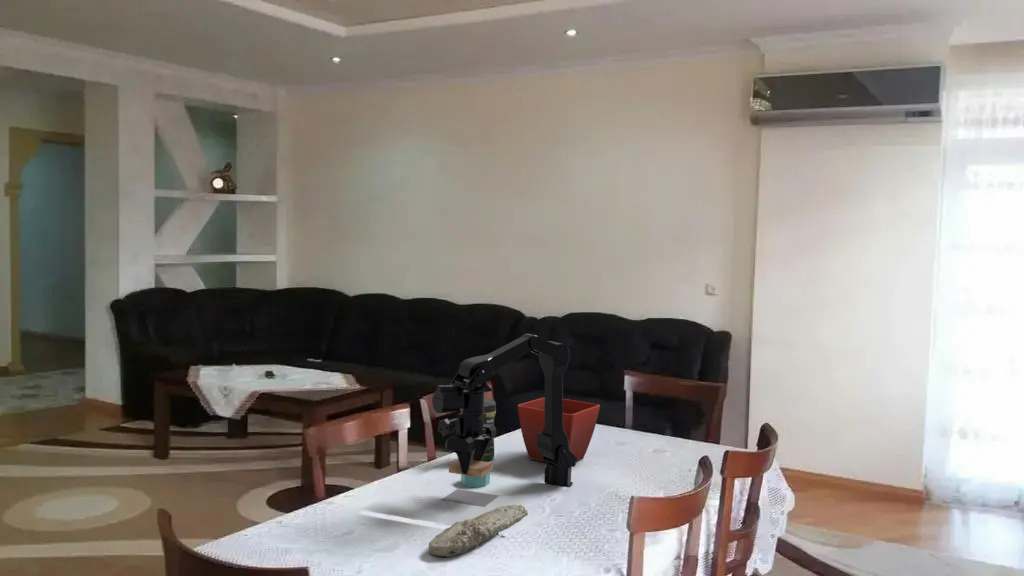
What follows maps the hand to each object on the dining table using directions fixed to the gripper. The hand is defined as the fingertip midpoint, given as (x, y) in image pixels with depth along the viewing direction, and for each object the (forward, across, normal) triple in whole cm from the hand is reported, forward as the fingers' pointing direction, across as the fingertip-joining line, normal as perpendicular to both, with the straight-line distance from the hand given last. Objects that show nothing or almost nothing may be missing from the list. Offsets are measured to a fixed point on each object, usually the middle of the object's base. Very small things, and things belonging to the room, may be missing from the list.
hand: (470, 469), depth 217 cm
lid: (0, 0, 0) cm, 0 cm away
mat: (+8, 0, 0) cm, 8 cm away
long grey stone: (+9, +20, +12) cm, 25 cm away
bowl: (+8, -12, -4) cm, 15 cm away
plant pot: (+8, -49, +7) cm, 50 cm away
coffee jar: (+8, -37, -14) cm, 40 cm away
